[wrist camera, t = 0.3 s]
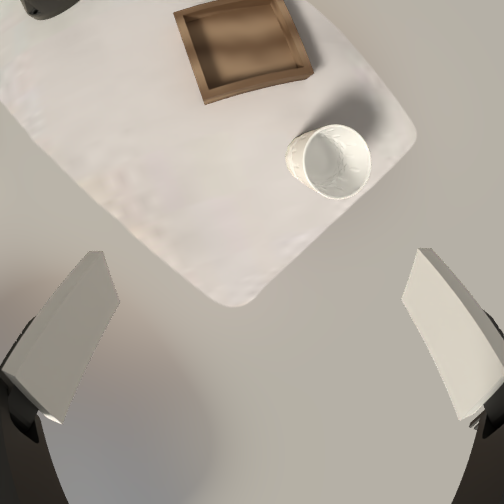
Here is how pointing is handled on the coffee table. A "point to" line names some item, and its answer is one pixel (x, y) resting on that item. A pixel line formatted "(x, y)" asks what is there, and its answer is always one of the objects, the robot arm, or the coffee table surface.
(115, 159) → the coffee table surface
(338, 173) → the white cup
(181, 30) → the tray
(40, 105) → the coffee table surface
